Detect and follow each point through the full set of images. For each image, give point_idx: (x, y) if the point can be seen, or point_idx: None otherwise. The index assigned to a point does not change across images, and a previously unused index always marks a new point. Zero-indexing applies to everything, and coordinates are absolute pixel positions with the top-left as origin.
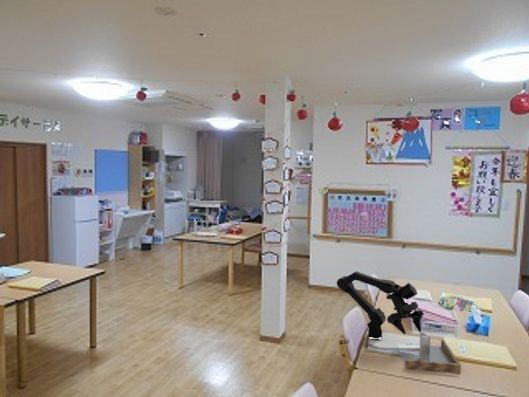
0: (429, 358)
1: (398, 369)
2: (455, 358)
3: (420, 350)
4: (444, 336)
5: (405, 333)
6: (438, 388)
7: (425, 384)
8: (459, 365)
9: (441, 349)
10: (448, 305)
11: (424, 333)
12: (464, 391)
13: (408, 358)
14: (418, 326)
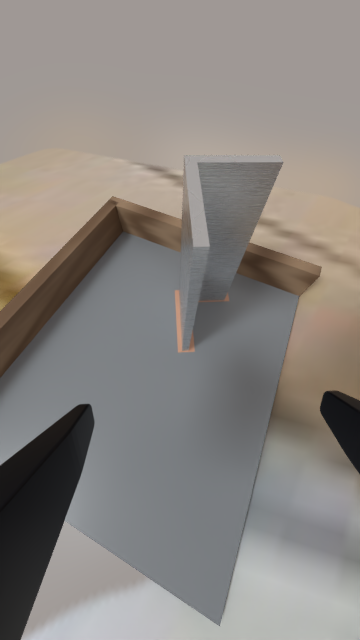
0: (146, 328)
1: (328, 296)
2: (81, 232)
3: (242, 256)
4: None
5: (331, 391)
6: None
7: (273, 212)
8: (117, 199)
9: None
10: None
11: (201, 196)
12: None
13: (248, 354)
14: (48, 479)
